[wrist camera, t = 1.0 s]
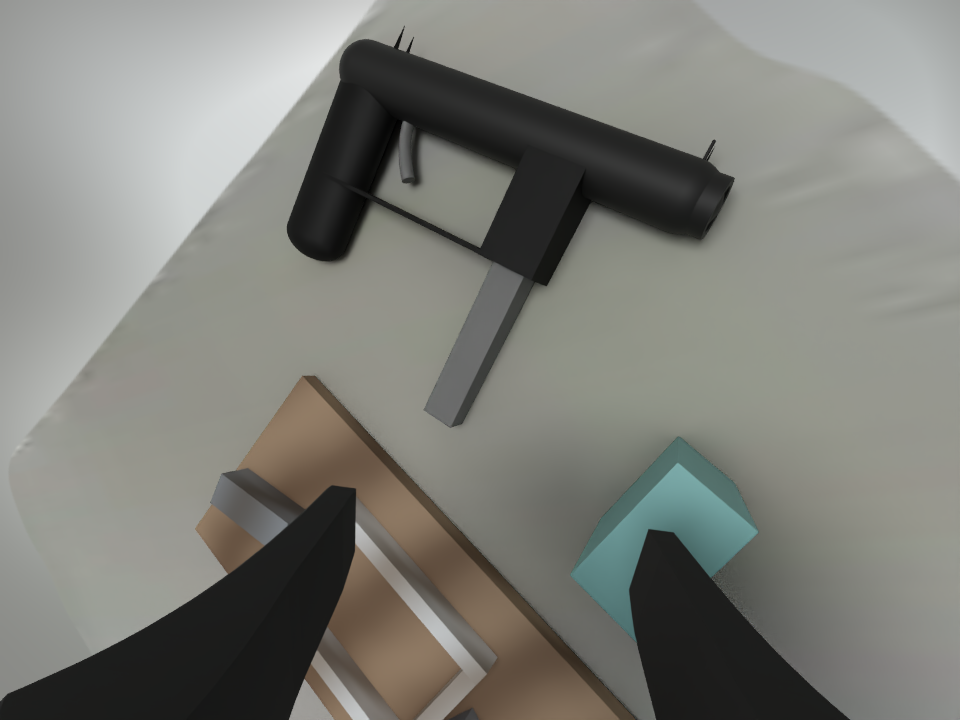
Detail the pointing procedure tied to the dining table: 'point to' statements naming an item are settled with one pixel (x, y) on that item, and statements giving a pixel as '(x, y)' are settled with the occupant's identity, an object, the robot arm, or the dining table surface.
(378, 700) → the board
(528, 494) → the dining table surface
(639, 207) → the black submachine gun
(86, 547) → the dining table surface
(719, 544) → the block
